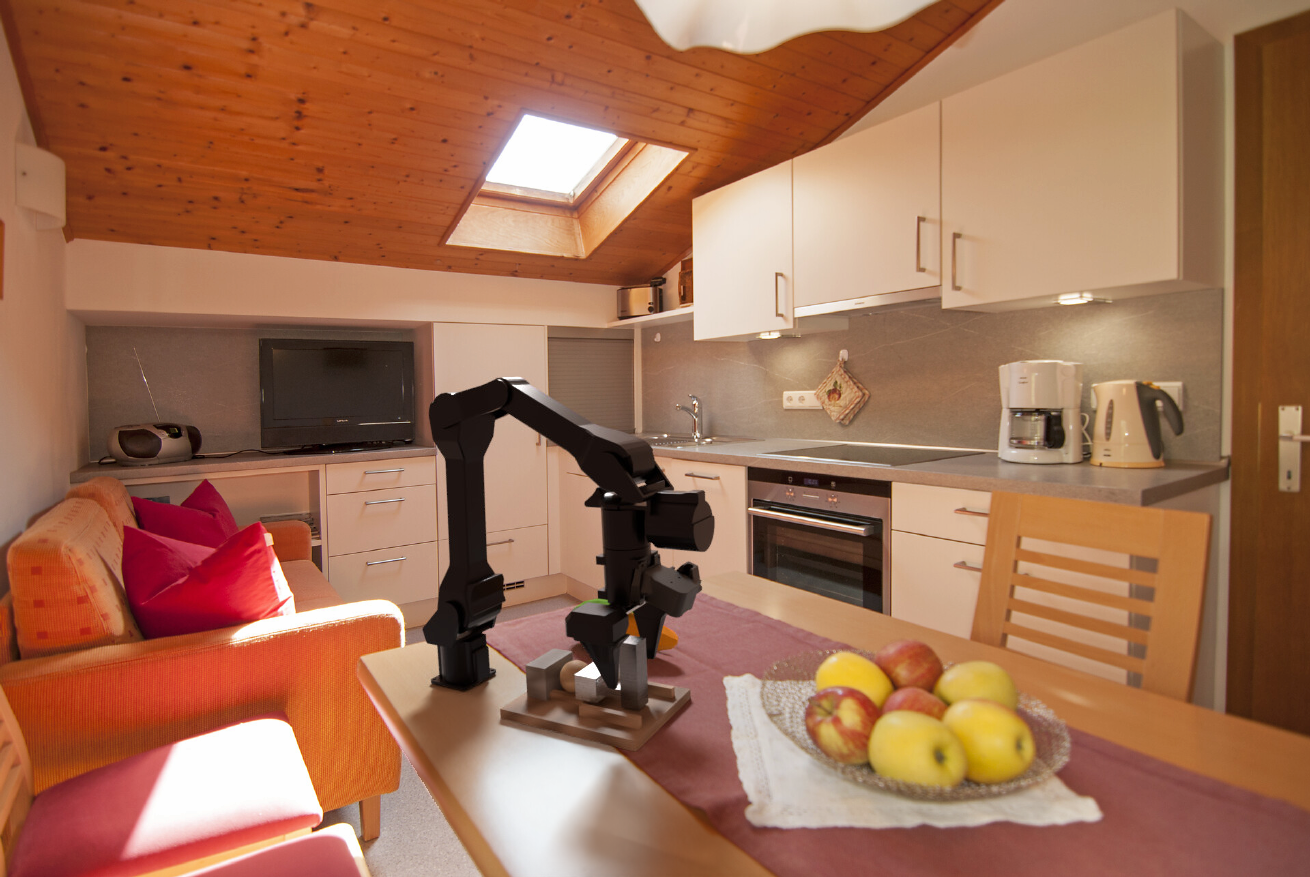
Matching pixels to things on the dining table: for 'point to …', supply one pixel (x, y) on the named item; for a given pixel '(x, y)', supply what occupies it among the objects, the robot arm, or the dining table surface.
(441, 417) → the robot arm
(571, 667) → the tan wooden ball
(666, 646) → the corn
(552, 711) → the base
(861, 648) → the dining table surface
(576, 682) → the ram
